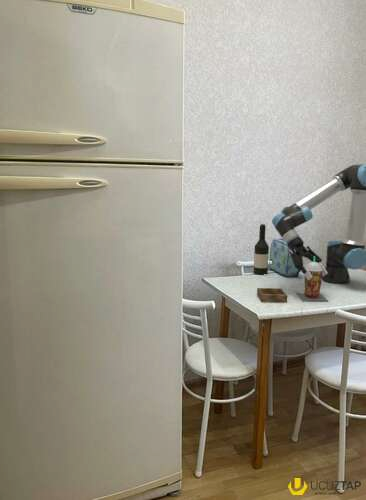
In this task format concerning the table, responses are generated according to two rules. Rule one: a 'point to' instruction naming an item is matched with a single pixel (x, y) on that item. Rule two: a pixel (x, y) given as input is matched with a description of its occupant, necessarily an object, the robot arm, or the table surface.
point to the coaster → (305, 298)
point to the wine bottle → (261, 253)
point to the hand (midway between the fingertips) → (318, 276)
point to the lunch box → (282, 259)
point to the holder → (271, 295)
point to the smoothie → (313, 279)
